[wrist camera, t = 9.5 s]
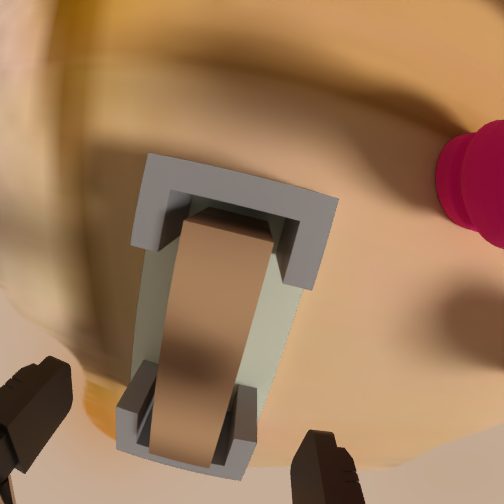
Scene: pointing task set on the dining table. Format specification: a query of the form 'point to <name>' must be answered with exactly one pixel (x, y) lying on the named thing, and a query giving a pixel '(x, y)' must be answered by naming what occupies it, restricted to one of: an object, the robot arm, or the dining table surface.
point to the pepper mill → (475, 181)
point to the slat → (206, 330)
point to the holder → (268, 307)
